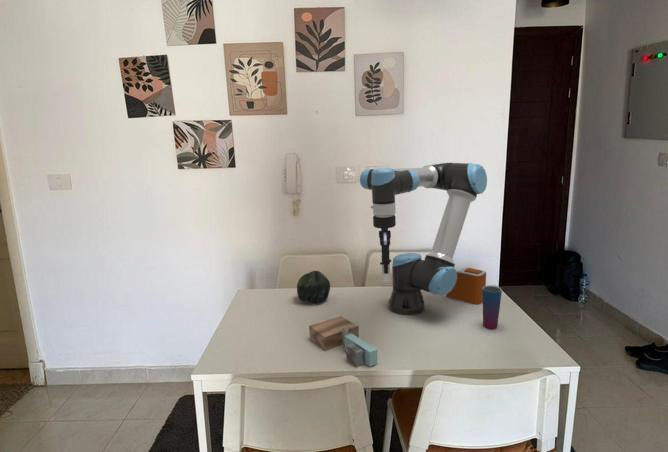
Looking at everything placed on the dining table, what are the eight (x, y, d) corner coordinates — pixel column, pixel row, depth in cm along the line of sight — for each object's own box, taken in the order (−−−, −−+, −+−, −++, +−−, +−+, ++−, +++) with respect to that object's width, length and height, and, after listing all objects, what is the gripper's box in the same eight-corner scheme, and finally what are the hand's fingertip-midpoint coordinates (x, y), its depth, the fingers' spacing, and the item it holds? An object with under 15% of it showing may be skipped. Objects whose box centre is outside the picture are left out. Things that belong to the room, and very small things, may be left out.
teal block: (344, 349, 149) (344, 335, 148) (351, 346, 150) (351, 333, 149) (370, 366, 137) (370, 352, 136) (377, 363, 139) (377, 349, 138)
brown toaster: (486, 299, 189) (488, 269, 186) (478, 305, 183) (479, 274, 180) (455, 291, 199) (456, 263, 196) (446, 297, 193) (447, 268, 190)
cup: (501, 331, 159) (503, 292, 156) (481, 329, 160) (483, 291, 157) (498, 323, 166) (500, 286, 162) (479, 322, 167) (481, 285, 164)
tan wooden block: (309, 338, 158) (309, 320, 156) (341, 328, 165) (341, 311, 164) (350, 369, 136) (350, 349, 135) (385, 356, 144) (385, 336, 142)
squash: (296, 282, 202) (296, 265, 190) (328, 281, 203) (330, 264, 191) (297, 310, 193) (297, 294, 181) (330, 309, 195) (333, 293, 183)
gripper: (372, 211, 152) (375, 274, 157) (372, 219, 139) (375, 288, 145) (394, 210, 151) (396, 274, 156) (396, 218, 138) (398, 287, 144)
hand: (386, 280), depth 151 cm, fingers closed
